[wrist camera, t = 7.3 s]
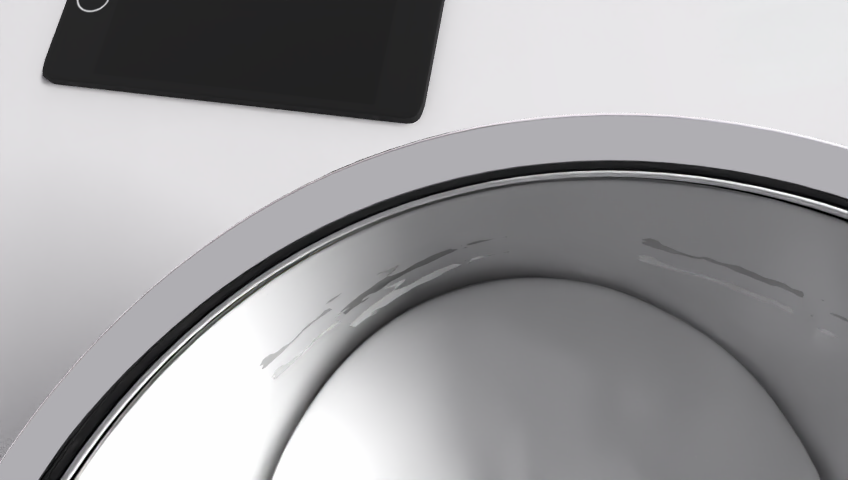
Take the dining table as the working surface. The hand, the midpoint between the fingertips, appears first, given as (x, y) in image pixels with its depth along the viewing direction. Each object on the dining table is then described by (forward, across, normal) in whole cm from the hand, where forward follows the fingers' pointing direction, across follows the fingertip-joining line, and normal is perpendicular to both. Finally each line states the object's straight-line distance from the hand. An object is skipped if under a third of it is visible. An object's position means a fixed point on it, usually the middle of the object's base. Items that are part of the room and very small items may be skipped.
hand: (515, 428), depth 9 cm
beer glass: (+5, 0, +6) cm, 8 cm away
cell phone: (+20, +10, -4) cm, 23 cm away
